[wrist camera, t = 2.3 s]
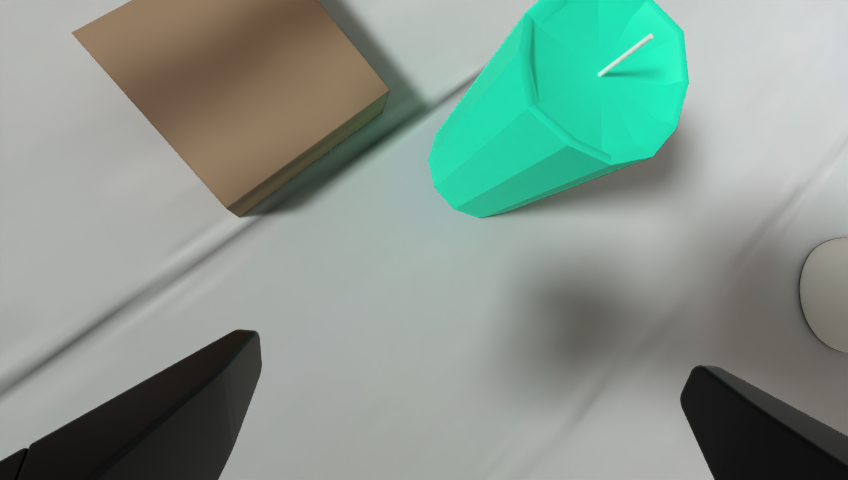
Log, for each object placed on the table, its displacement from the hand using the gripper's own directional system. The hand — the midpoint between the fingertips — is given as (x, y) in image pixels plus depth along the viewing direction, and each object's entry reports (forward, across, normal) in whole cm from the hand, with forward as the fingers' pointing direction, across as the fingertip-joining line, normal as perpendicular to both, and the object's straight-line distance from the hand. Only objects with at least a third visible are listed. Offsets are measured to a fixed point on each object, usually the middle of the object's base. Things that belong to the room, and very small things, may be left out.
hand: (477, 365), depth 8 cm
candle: (+16, -2, -1) cm, 16 cm away
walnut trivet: (+14, +10, -4) cm, 18 cm away
